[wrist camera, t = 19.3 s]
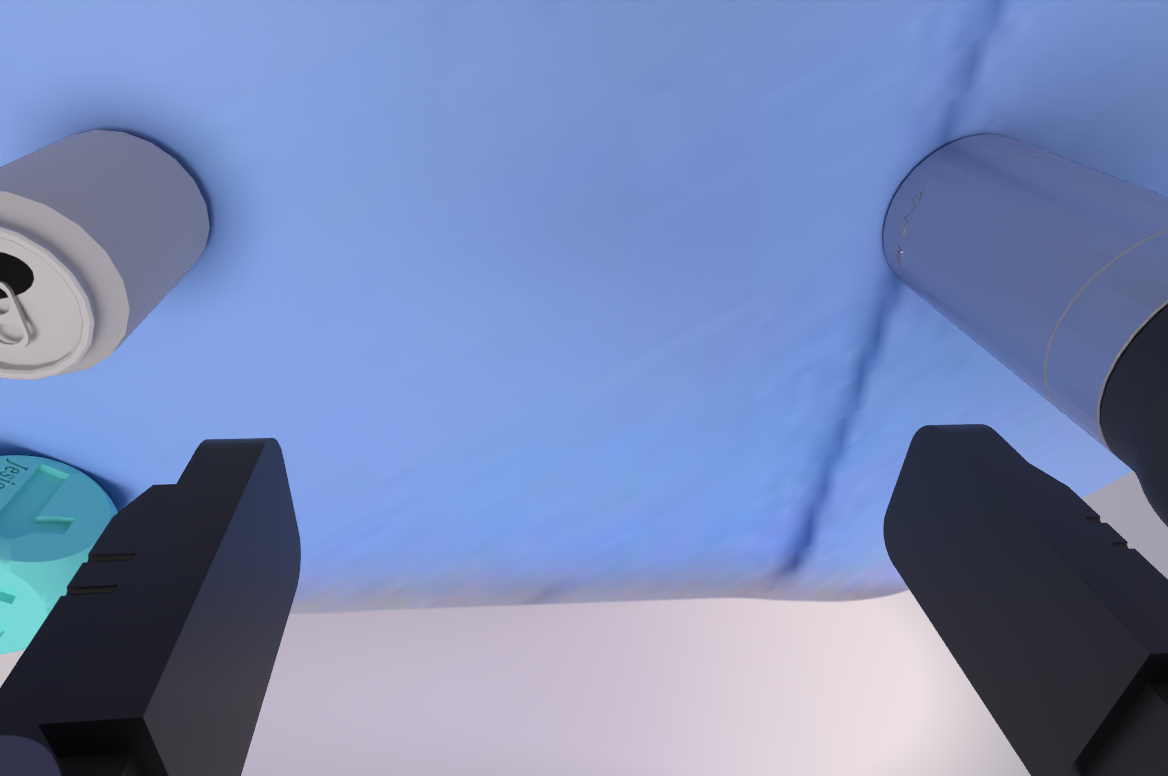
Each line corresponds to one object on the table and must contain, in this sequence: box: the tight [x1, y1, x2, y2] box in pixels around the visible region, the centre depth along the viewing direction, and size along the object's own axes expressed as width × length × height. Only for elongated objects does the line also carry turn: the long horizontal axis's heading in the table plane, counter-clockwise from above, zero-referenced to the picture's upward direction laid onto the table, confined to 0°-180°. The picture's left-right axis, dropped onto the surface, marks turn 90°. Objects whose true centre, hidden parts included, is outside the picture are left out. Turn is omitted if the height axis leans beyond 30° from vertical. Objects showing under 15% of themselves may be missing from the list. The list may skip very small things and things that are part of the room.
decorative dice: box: [0, 455, 118, 654], centre depth 41 cm, size 8×8×8 cm
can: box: [0, 130, 210, 380], centre depth 30 cm, size 8×8×12 cm
